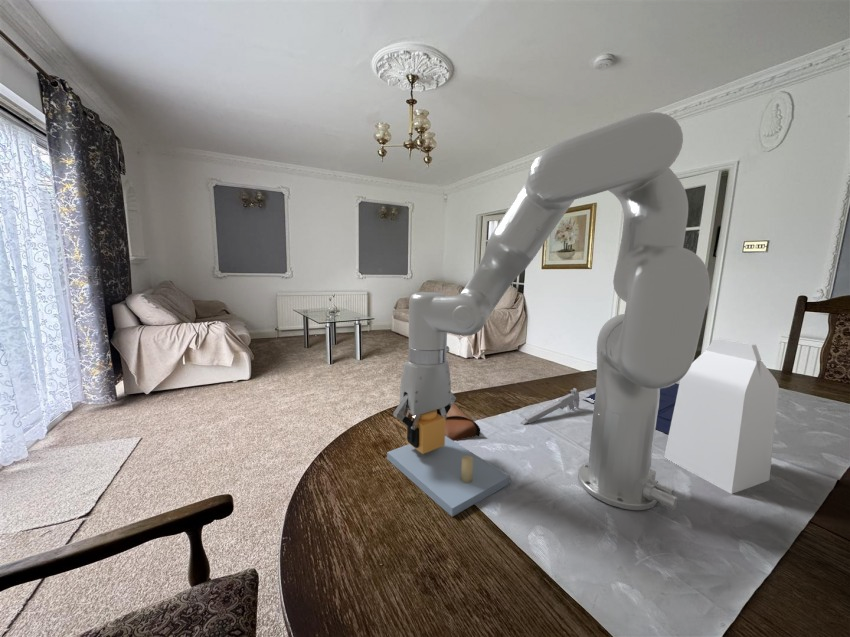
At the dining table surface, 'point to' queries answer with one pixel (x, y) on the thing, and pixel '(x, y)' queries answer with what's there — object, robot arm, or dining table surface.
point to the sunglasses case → (460, 425)
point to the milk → (725, 417)
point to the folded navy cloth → (663, 407)
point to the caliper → (556, 406)
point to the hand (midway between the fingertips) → (425, 439)
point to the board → (449, 474)
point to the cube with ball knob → (430, 431)
